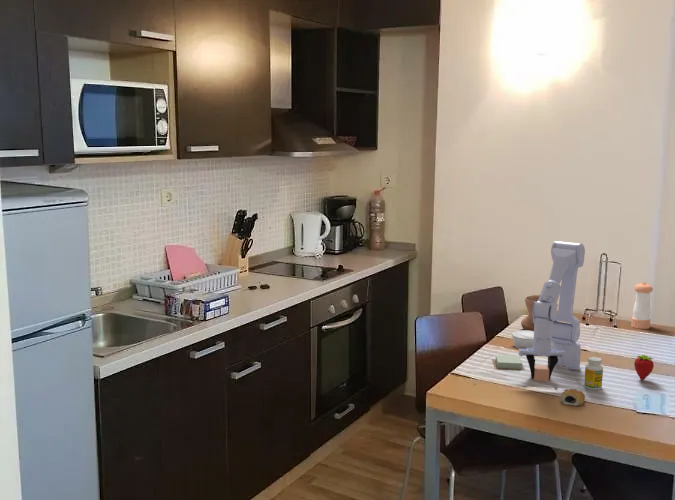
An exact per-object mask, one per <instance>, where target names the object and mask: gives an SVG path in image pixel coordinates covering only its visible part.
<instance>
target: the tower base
mask: <svg viewBox="0 0 675 500" xmlns="http://www.w3.org/2000/svg"><path fill="white" fill-rule="evenodd" d="M491 361H492V364H493V368H494V370H506V371H507V370H509V371H510V370H511V371H525V367H524V365H523V364H522V369H510V368H497V364H496V358H495V359H491Z"/></svg>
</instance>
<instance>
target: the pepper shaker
mask: <svg viewBox="0 0 675 500" xmlns="http://www.w3.org/2000/svg"><path fill="white" fill-rule="evenodd" d="M634 290H635V301H634V305H633V308H632V317H631V324H630V326H631V327H632V328H636V329H639V330H647V329H650V328H651V317H650V316H651V303H650V302H651V301H650V300H651V293H652V292H653V290H654V289H653V287H652V285H650V284H648V283H647V282H645V281H642V282H641V283H637V284H635V286H634Z"/></svg>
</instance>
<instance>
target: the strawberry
mask: <svg viewBox="0 0 675 500" xmlns="http://www.w3.org/2000/svg"><path fill="white" fill-rule="evenodd" d="M653 360H655V358H653V357H650V356H649V355H645V354H642V355H636V358H635V360H634V363H633V365H634V370H635V372H636V374H637V376H638V378H639V379H640V380H641V381H645V379H646V378H648V377H649V375H650V374H651V373H652V372H653V370H654V366H655V365H654V361H653Z"/></svg>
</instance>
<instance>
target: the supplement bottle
mask: <svg viewBox="0 0 675 500" xmlns="http://www.w3.org/2000/svg"><path fill="white" fill-rule="evenodd" d="M587 359H588V360H587V363H586V365H584V387H585V388H586V389H588V390H590V391H599V390H601V389H602V387H603V378H604V377H603V373H604V366H603V365H602V358H600V357H597V356H589V357H588V358H587Z"/></svg>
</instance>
